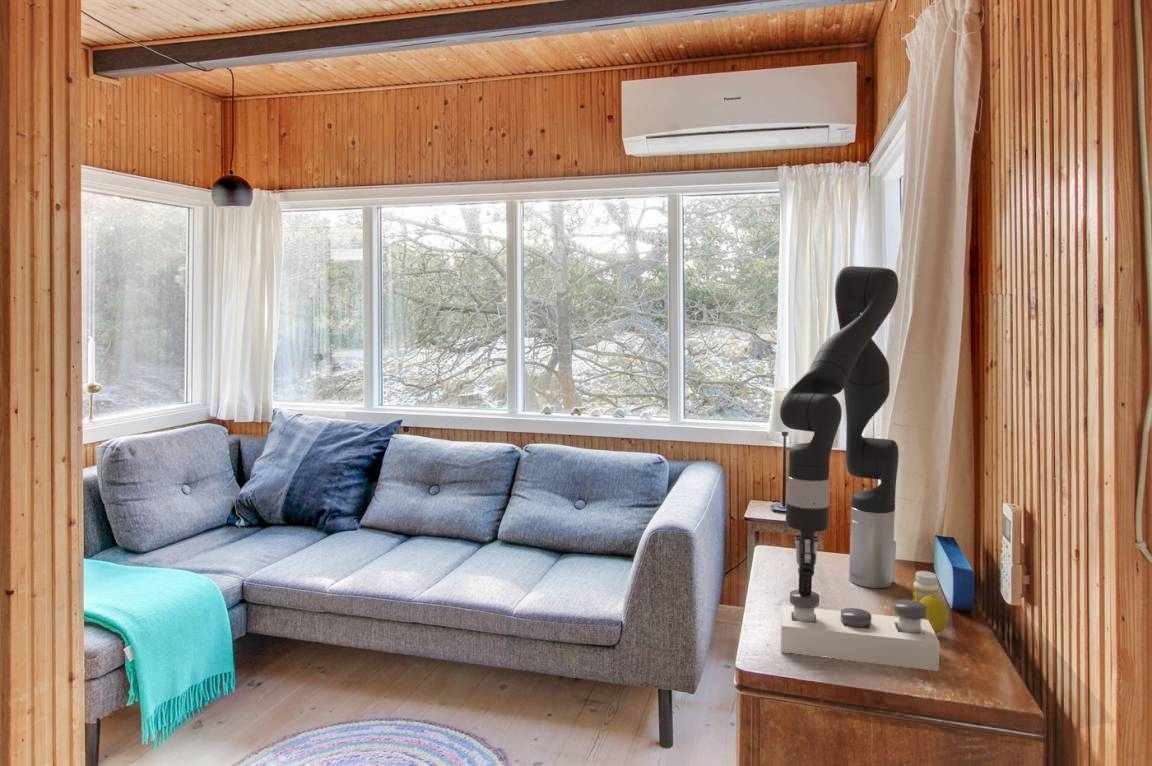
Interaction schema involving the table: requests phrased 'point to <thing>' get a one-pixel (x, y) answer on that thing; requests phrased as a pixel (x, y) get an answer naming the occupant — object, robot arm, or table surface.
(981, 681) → the table surface
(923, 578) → the supplement bottle
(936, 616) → the lemon
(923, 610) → the knob
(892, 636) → the knob panel
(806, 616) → the knob
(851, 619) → the knob middle
